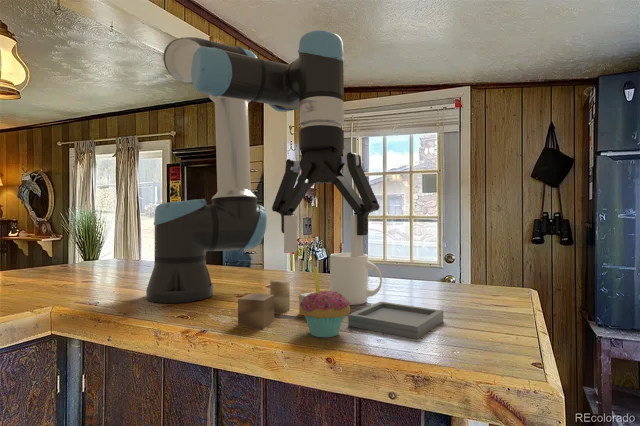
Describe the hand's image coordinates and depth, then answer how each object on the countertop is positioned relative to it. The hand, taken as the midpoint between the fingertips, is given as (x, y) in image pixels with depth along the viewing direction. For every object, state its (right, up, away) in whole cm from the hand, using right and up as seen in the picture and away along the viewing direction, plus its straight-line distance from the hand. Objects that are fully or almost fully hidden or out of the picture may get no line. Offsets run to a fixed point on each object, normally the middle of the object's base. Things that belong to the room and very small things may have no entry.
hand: (322, 254), depth 67 cm
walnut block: (-12, -13, +6) cm, 19 cm away
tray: (+14, -13, +6) cm, 20 cm away
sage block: (-1, -14, +13) cm, 19 cm away
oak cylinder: (-9, -13, +16) cm, 23 cm away
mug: (+8, -14, +24) cm, 29 cm away
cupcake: (0, -14, 0) cm, 14 cm away
